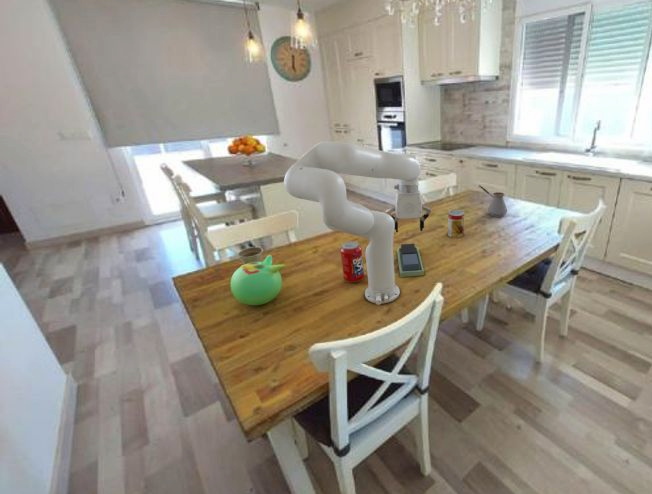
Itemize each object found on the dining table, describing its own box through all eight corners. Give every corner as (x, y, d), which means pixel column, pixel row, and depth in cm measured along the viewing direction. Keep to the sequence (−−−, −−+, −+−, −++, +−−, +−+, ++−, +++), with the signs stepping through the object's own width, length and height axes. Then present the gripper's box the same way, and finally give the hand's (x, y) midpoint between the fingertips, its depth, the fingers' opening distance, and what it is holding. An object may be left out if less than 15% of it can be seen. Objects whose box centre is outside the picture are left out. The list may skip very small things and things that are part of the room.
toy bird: (229, 298, 116) (218, 262, 110) (276, 280, 127) (268, 247, 121) (246, 321, 104) (235, 282, 98) (296, 299, 115) (288, 263, 109)
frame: (424, 275, 128) (424, 270, 128) (400, 277, 127) (400, 272, 127) (417, 250, 149) (417, 246, 148) (397, 251, 148) (397, 247, 147)
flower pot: (267, 262, 140) (263, 245, 136) (266, 273, 132) (262, 254, 128) (243, 267, 137) (239, 249, 133) (241, 277, 129) (236, 258, 125)
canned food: (466, 236, 162) (467, 214, 157) (452, 238, 160) (452, 216, 155) (458, 230, 169) (459, 209, 164) (445, 233, 166) (445, 211, 161)
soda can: (342, 275, 129) (338, 242, 123) (362, 272, 131) (358, 239, 125) (345, 285, 122) (341, 250, 116) (366, 281, 125) (362, 247, 118)
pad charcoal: (416, 260, 139) (416, 252, 137) (402, 261, 138) (402, 253, 136) (414, 251, 147) (414, 243, 145) (401, 252, 146) (400, 244, 145)
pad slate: (419, 272, 130) (418, 263, 128) (404, 273, 129) (403, 264, 127) (416, 261, 138) (416, 253, 136) (402, 262, 137) (402, 254, 135)
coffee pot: (510, 215, 189) (513, 190, 183) (498, 219, 183) (500, 194, 176) (483, 206, 204) (484, 183, 198) (470, 210, 198) (472, 186, 192)
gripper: (385, 191, 115) (387, 235, 122) (432, 189, 117) (432, 233, 124) (384, 186, 122) (386, 228, 129) (429, 184, 124) (429, 226, 130)
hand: (409, 230), depth 126 cm, fingers open, 9 cm apart
